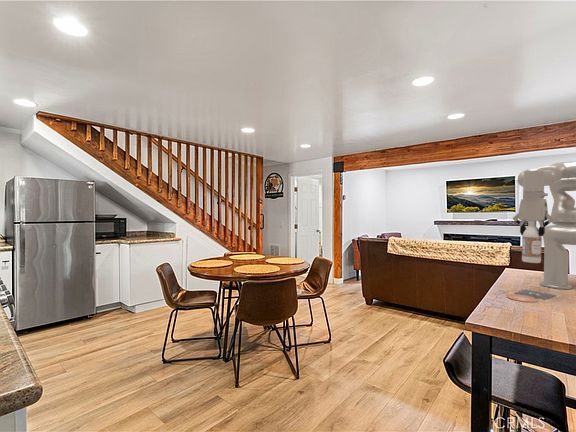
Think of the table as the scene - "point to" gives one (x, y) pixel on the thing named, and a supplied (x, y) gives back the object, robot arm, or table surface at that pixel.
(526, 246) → the bath foam
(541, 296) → the tile
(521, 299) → the flat salmon disc
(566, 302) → the table surface
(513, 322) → the table surface
